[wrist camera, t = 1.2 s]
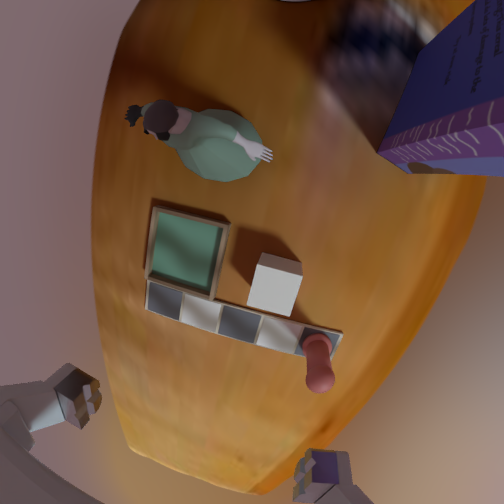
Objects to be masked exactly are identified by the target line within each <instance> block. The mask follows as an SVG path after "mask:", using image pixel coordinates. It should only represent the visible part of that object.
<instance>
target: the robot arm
mask: <svg viewBox="0 0 504 504" xmlns="http://www.w3.org/2000/svg"><path fill="white" fill-rule="evenodd" d="M282 1H309V0H282ZM99 387H100V383H99V380H97V379H95V378H93V377H92V376H90V375H88V374H87V373H85V372H83V371H82V370H80V369H79V368H77V367H75V366H74V365H72V364H70V363H66V364H65V365H63V366H62V367H61V368H60V369H59V370H57V371H56V372H55V373H54V374H53V375H52V376H50V377H49V378H48V379H47V380H46V381H45V382H43V381H35V382H28V383H21V384H13V385H5V386H0V504H104V503H102V502H101V501H99V500H97V499H95V498H93V497H92V496H90V495H88V494H86V493H85V492H83V491H82V490H80V489H78V488H77V487H75V486H74V485H72V484H71V483H69V482H68V481H66V480H64V479H63V478H62V477H60V476H59V475H58V474H56V473H55V472H53V471H52V470H51V469H49V468H48V467H47V466H45V465H44V464H43V463H41V462H40V461H39V460H38V459H36V458H35V457H34V456H33V455H32V454H30V453H29V451H30V449H31V448H32V447H33V446H34V445H35V441H34V439H33V437H32V435H31V434H30V432H32V431H35V430H39V429H41V428H45V427H48V426H51V425H54V424H57V423H60V422H63V421H65V420H66V421H68V422H69V423H71V424H73V425H74V426H76V427H78V428H79V429H82V428H83V427H84V426H85V425H86V424H87V423H88V421H89V420H90V418H89V415H91V414H94V413H96V412H97V410H98V409H99V407H100V405H101V401H102V395H101V393H100V392H99V390H98V388H99ZM294 480H295V481H296V482H297V484H296V486H295V487H294V488H293V501H294V502H303V503H314V504H374V503H373V502H372V501H371V500H370V499H369V498H368V497H367V496H366V495H365V494H364V493H363V492H362V491H361V489H360V488H359V487H358V486H357V485H353V482H352V474H351V467H350V460H349V454H348V452H345V451H334V450H323V449H313V448H309V449H307V451H306V452H305V457H304V458H301V459H300V460H299V462H298V463H297V465H296V468H295V472H294Z"/></svg>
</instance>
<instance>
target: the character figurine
mask: <svg viewBox="0 0 504 504" xmlns="http://www.w3.org/2000/svg"><path fill="white" fill-rule="evenodd" d="M128 108H129V110H127V112H128V114H126V115H125V116H128V117H126V118H125V119H126V120H128V121H129V122H130V127H131V126H135V122H136V121H137V119H138V118H139V117H141V116H144V121H143V126H144V133H146V134H149V133H150V134H153V135H154V136H155V137H156V140H157V139H159V140H162V141H163V142H164V143H166V144H167V145H168V146H169V147H173V148H176V151H177V153H178V155H179V156H180V158H181V160H182V161H183V163H184V165H185V166H186V167H187V168H189V169H190V170H192V171H193V172H195V173H196V174H198V175H199V176H201V177H202V178H204V179H211V180H217V181H224V182H228V181H232V180H235V179H239V178H242V177H246V176H248V175H249V174H250V172H251V171H252V170H253V169H254V168H255V167H256V166H257V164H258V163H259V162H260V161H261V159H263V160H265V161H267V162H270V161H269V160H268V159H266V158H269V159H271V160H273V158H271V157H269V156H267V155H266V154H268V155H270V156H273V155H272V154H271V153H269V152H267V151H270V152H272V150H270V149H268V148H267V147H265V146H264V145H262V140H261V138H260V137H259V135H258V133H257V132H256V130H255V128H254V127H253V125H252V123H251V122H249V121H248V120H246V119H244V118H243V117H241V116H239V115H237V114H236V113H234V112H232V111H228V110H217V109H206V110H204V111H201V112H195V111H193V110H190V109H188V108H185V107H179V106H174V104H173V103H172V102H170V101H166V100H157V101H156V102H154V103H152V102H151V103H149V104H146V105H145V106H142V107H139V106H138V105H132V106H129V107H128ZM148 132H149V133H148ZM264 149H265V150H267V151H265V150H264ZM262 152H263V153H262ZM264 153H266V154H264ZM261 155H262V156H264V157H266V158H264V157H262V156H261Z"/></svg>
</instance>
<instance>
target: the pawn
mask: <svg viewBox="0 0 504 504" xmlns="http://www.w3.org/2000/svg"><path fill="white" fill-rule="evenodd" d="M302 348H303V354H304V356H305V357H306V358H307V375H306V385H307V387H308V388H309V389H310V390H311V391H312V392H315V393H324V392H327V391H328V390H330V389H331V388H332V386H333V384H334V382H335V375H334V373H333V371H332V366H331V360H330V353H331V351H332V344H331V340H330V338H329V337H328V336H327V335H325V334H323V333H314V334H311V335H309V336H307V337H306V338H305V340H304V341H303V345H302Z"/></svg>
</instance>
